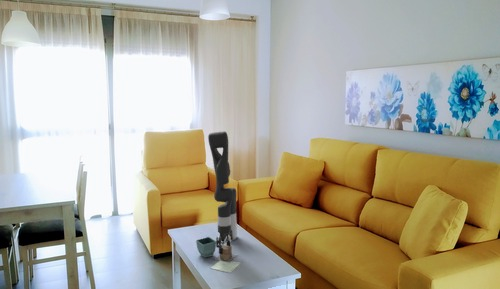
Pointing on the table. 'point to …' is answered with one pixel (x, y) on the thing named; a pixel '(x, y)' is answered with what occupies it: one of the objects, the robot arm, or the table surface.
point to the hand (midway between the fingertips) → (224, 251)
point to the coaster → (225, 266)
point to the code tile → (225, 259)
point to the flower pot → (206, 246)
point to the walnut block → (226, 252)
